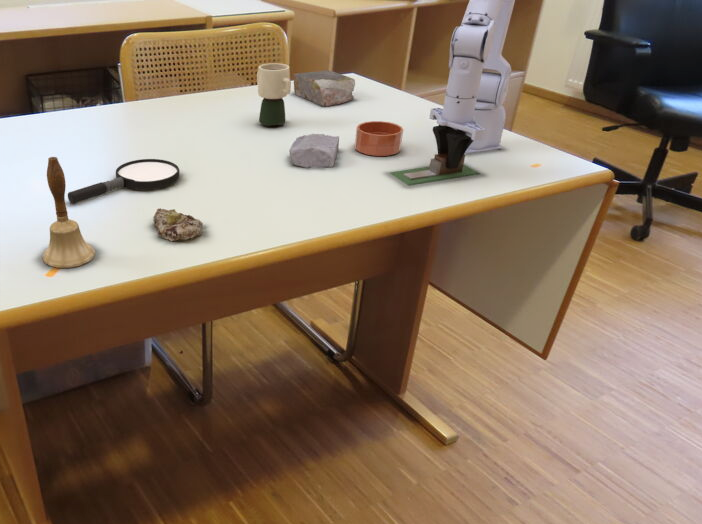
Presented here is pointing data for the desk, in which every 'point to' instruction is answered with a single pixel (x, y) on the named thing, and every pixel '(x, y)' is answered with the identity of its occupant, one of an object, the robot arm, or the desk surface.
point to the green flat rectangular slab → (400, 175)
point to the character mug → (273, 92)
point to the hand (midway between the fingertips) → (447, 165)
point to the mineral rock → (176, 225)
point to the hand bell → (64, 227)
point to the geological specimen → (324, 87)
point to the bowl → (378, 138)
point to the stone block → (314, 150)
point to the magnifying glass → (132, 178)
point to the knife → (436, 167)
